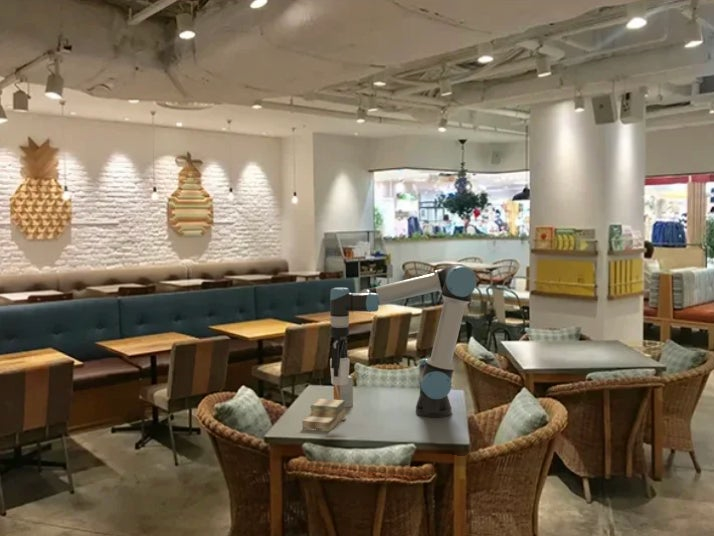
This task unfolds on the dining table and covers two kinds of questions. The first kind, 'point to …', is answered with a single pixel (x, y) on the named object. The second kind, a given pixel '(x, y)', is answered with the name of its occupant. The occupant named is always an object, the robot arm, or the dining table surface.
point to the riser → (324, 414)
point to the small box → (345, 392)
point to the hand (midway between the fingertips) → (339, 381)
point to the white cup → (342, 371)
